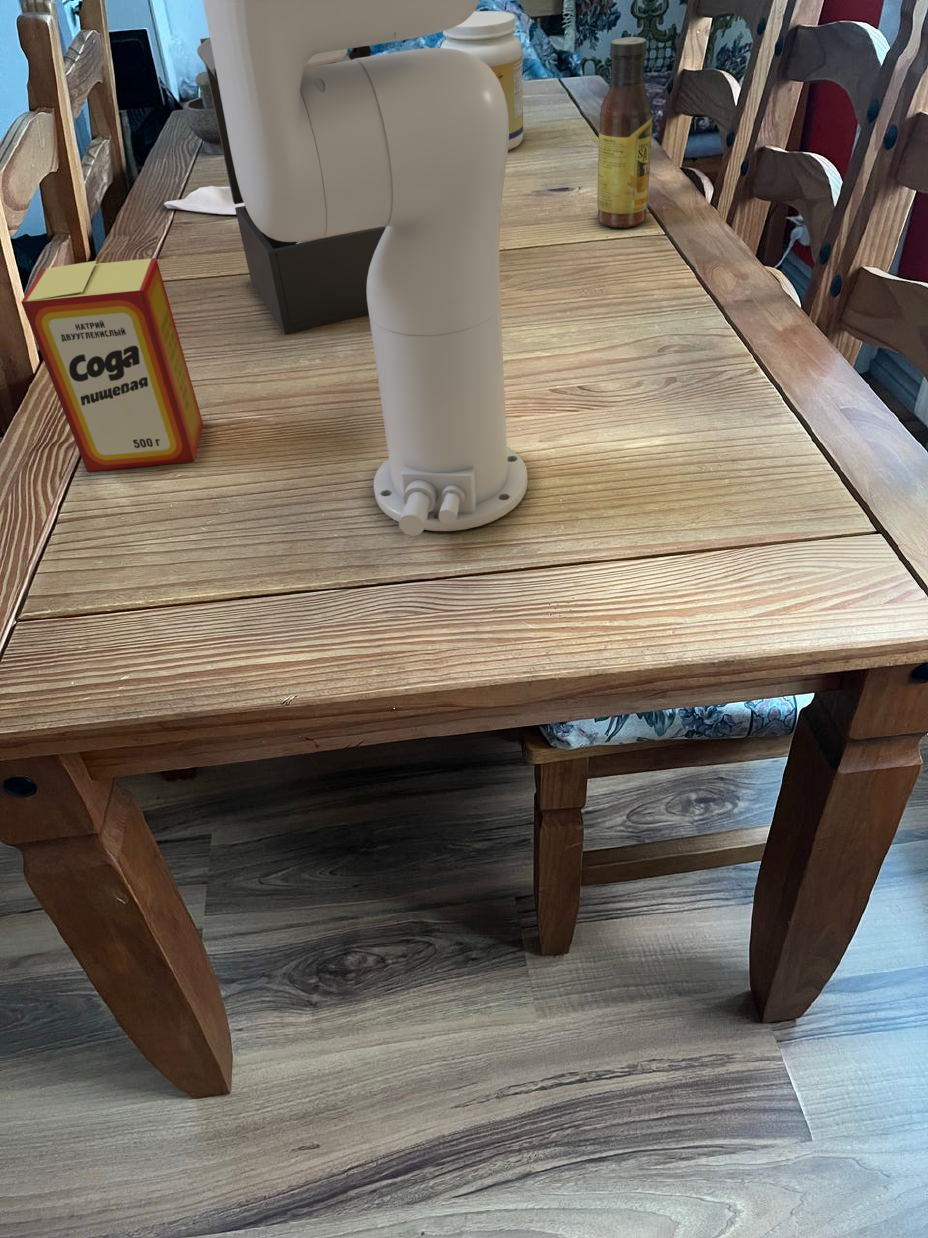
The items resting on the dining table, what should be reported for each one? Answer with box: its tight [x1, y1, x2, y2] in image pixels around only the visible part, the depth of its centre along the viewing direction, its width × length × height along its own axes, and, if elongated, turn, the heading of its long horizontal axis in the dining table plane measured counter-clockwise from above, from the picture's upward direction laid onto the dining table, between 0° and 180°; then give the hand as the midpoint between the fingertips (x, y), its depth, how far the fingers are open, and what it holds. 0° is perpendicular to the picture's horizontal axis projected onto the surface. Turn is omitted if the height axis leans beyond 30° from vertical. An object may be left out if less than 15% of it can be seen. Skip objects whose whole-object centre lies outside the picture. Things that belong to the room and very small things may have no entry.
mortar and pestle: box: [183, 71, 223, 155], centre depth 152 cm, size 11×9×12 cm
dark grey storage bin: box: [235, 206, 386, 335], centre depth 107 cm, size 16×14×9 cm
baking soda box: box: [20, 257, 204, 473], centre depth 82 cm, size 10×6×16 cm
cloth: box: [163, 185, 245, 216], centre depth 136 cm, size 26×14×2 cm, turn 91°
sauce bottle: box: [596, 36, 654, 228], centre depth 115 cm, size 7×6×20 cm
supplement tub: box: [439, 10, 525, 151], centre depth 143 cm, size 12×12×17 cm
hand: (304, 130), depth 96 cm, fingers open, 9 cm apart
